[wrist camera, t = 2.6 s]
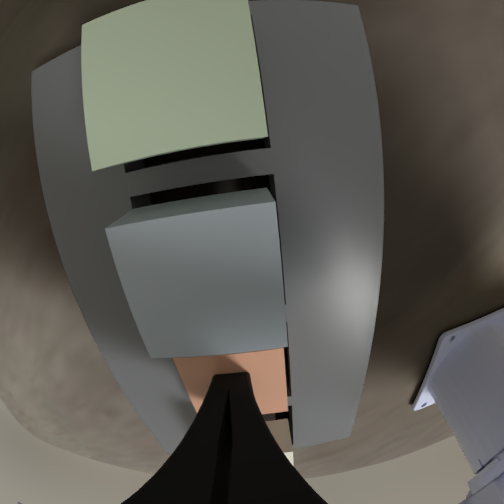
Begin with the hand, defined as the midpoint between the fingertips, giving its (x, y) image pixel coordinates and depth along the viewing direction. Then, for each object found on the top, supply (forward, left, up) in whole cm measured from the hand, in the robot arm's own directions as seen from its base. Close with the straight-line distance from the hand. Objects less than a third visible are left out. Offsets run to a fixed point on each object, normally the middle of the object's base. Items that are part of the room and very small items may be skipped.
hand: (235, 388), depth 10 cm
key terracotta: (0, 0, -3) cm, 3 cm away
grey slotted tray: (0, -3, -3) cm, 4 cm away
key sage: (0, -11, -1) cm, 11 cm away
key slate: (0, -5, -1) cm, 6 cm away
